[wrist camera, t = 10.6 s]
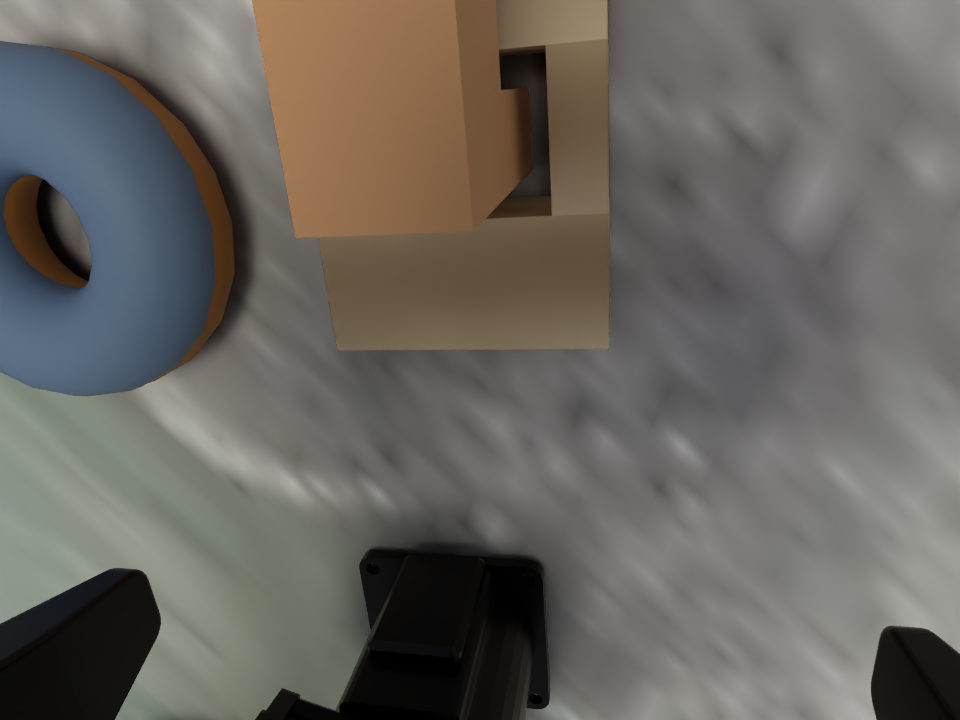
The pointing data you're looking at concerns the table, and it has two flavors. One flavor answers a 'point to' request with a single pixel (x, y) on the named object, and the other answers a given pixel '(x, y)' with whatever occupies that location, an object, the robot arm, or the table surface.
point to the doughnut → (104, 228)
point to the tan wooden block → (392, 114)
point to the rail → (503, 226)
